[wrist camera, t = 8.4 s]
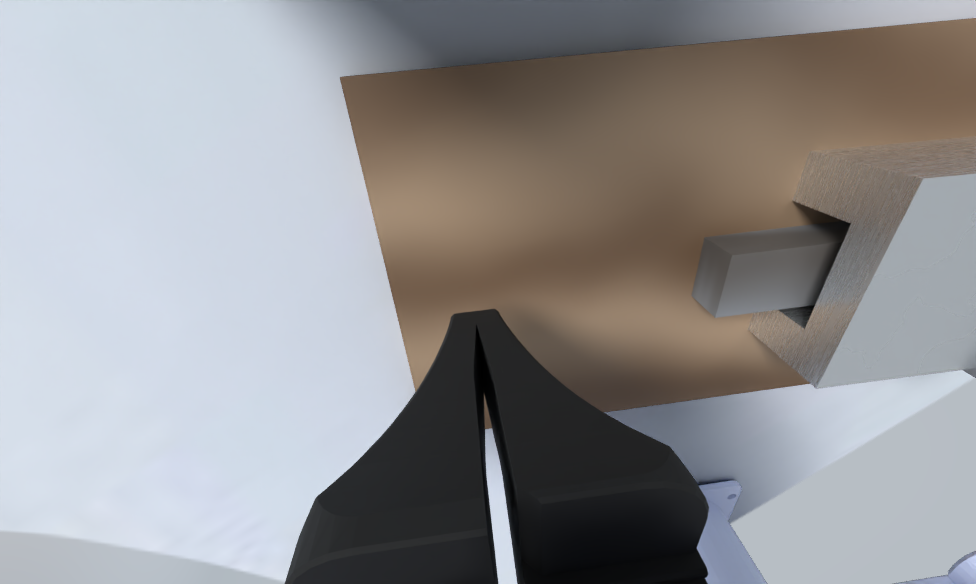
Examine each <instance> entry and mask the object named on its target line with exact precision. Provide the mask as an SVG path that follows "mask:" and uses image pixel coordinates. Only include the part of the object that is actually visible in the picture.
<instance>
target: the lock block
mask: <svg viewBox="0 0 976 584" xmlns="http://www.w3.org/2000/svg"><path fill="white" fill-rule="evenodd" d="M792 201H795V202H797V203H800V204H802V205H805V206H807V207H810V208H813V209H815V210H818V211H820V212H823V213H825V214H828V215H830V216H833V217H836V218H838V219H841V220H843V221H846V222H848V223H851V225H850V227H849V229H848V232H847V234H846V236H845V239H844V241H843V243H842V245H841V248H840V250H839V252H838V254H837V257H836V259H835V261H834V263H833V266H832V268H831V270H830V273H829V275H828V277H827V279H826V282H825V284H824V286H823V288H822V291H821V293H820V295H819V298H818V300H817V302H816V304H815V305H811V306H803V307H795V308H788V309H780V310H772V311H765V312H757V313H753V315H752V318H751V321H750V324H749V327H748V330H749V331H750V332H752V333H753V334H754V335H755V336H756V337H757V338H758V339H760V340H761V341H762V342H763V343H764V344H765V345H767V346H768V347H769V348H770V349H771V350H772V351H773V352H775V353H776V354H777V355H778V356H779V357H780V358H782V359H783V360H784V361H785V362H786V363H787V364H788V365H790V366H791V367H792V368H793V369H794V370H795V371H797V372H798V373H799V374H800V375H801V376H802V377H803V378H805V379H806V380H807V381H808V382H809V383H810V384H812V385H813V386H814V387H815V388H816V389H817V388H825V387H833V386H841V385H849V384H856V383H864V382H872V381H880V380H887V379H895V378H903V377H911V376H918V375H926V374H934V373H942V372H949V371H957V370H965V369H973V368H976V136H974V137H963V138H952V139H941V140H930V141H919V142H908V143H897V144H886V145H875V146H864V147H853V148H842V149H831V150H820V151H809V154H808V157H807V160H806V163H805V166H804V168H803V171H802V174H801V177H800V180H799V183H798V186H797V189H796V191H795V194H794V197H793V200H792Z"/></svg>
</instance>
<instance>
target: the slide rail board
mask: <svg viewBox="0 0 976 584" xmlns="http://www.w3.org/2000/svg"><path fill="white" fill-rule="evenodd" d="M340 80H341V85H342V89H343V93H344V97H345V101H346V105H347V109H348V114H349V118H350V122H351V126H352V130H353V134H354V138H355V143H356V147H357V151H358V155H359V159H360V163H361V167H362V172H363V176H364V180H365V184H366V188H367V192H368V196H369V201H370V205H371V209H372V213H373V217H374V221H375V225H376V230H377V234H378V238H379V242H380V246H381V250H382V254H383V259H384V263H385V267H386V271H387V275H388V279H389V284H390V288H391V292H392V296H393V300H394V304H395V308H396V313H397V317H398V321H399V325H400V329H401V333H402V337H403V342H404V346H405V350H406V354H407V358H408V362H409V366H410V371H411V375H412V379H413V383H414V387H415V391H417V389H418V388H419V386H420V384H421V383H422V381H423V380H424V378H425V376H426V374H427V372H428V371H429V369H430V367H431V365H432V363H433V362H434V360H435V358H436V356H437V353H438V351H439V349H440V347H441V345H442V342H443V340H444V338H445V335H446V332H447V330H448V326H449V323H450V319H451V316H452V315H453V314H455V313H463V312H471V311H480V310H488V309H496V310H497V311H499V313H500V315H501V317H502V318H503V320H504V322H505V323H506V324H507V326H508V327H509V329H510V330H511V331H512V333H513V334H514V335H515V336H516V338H517V339H518V340H519V341H520V342H521V344H522V345H523V346H524V347H525V348H526V349H527V350H528V352H529V353H530V354H531V355H532V356H533V357H534V358H535V359H536V360H537V361H538V362H539V363H540V364H541V365H542V366H543V367H544V368H545V369H546V370H547V371H548V372H549V373H551V374H552V375H553V376H554V377H555V378H556V379H558V380H559V381H560V382H561V383H562V384H564V385H565V386H566V387H567V388H569V389H570V390H571V391H573V392H574V393H575V394H576V395H578V396H579V397H581V398H582V399H584V400H585V401H587V402H588V403H590V404H591V405H593V406H594V407H596V408H597V409H599V410H600V411H602V412H610V411H618V410H625V409H632V408H639V407H646V406H653V405H660V404H668V403H675V402H682V401H689V400H696V399H703V398H710V397H718V396H725V395H732V394H739V393H746V392H753V391H760V390H768V389H775V388H782V387H789V386H796V385H803V384H810V383H809V382H808V381H807V380H806V379H805V378H803V377H802V376H801V375H800V374H799V373H798V372H797V371H795V370H794V369H793V368H792V367H791V366H790V365H788V364H787V363H786V362H785V361H784V360H783V359H782V358H780V357H779V356H778V355H777V354H776V353H775V352H773V351H772V350H771V349H770V348H769V347H768V346H767V345H765V344H764V343H763V342H762V341H761V340H760V339H758V338H757V337H756V336H755V335H754V334H753V333H752V332H750V331H749V330H748V327H749V324H750V321H751V318H752V315H753V313H757V312H765V311H772V310H780V309H788V308H795V307H803V306H811V305H815V304H816V302H817V300H818V298H819V295H820V293H821V291H822V288H823V286H824V284H825V282H826V279H827V277H828V275H829V273H830V270H831V268H832V266H833V263H834V261H835V259H836V257H837V254H838V252H839V250H840V248H841V245H842V243H843V241H844V239H845V236H846V234H847V232H848V229H849V227H850V225H851V223H848V222H846V221H843V220H841V219H838V218H836V217H833V216H830V215H828V214H825V213H823V212H820V211H818V210H815V209H813V208H810V207H807V206H805V205H802V204H800V203H797V202H795V201H792V200H793V197H794V194H795V191H796V189H797V186H798V183H799V180H800V177H801V174H802V171H803V168H804V166H805V163H806V160H807V157H808V154H809V151H820V150H831V149H842V148H853V147H864V146H875V145H886V144H897V143H908V142H919V141H930V140H941V139H952V138H963V137H974V136H976V18H971V19H960V20H949V21H938V22H928V23H917V24H906V25H895V26H884V27H874V28H863V29H852V30H841V31H830V32H820V33H809V34H798V35H787V36H776V37H766V38H755V39H744V40H733V41H722V42H712V43H701V44H690V45H679V46H668V47H658V48H647V49H636V50H625V51H614V52H603V53H593V54H582V55H571V56H560V57H549V58H539V59H528V60H517V61H506V62H495V63H485V64H474V65H463V66H452V67H441V68H431V69H420V70H409V71H398V72H387V73H377V74H366V75H355V76H345V77H340ZM963 371H965V372H967V373H968V374H970V375H972V376H973V377H975V378H976V368H973V369H965V370H963ZM484 412H485V429H489V428H492V425H491V421H490V417H489V412H488V408H487V404H486V400H485V395H484Z"/></svg>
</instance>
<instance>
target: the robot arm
mask: <svg viewBox="0 0 976 584" xmlns="http://www.w3.org/2000/svg"><path fill="white" fill-rule="evenodd" d="M484 395H485V400H486V404H487V408H488V412H489V417H490V421H491V425H492V429H493V434H494V438H495V442H496V446H497V451H498V455H499V459H500V464H501V470H502V475H503V482H504V489H505V496H506V503H507V510H508V518H509V525H510V532H511V539H512V547H513V554H514V561H515V568H516V576H517V583H518V584H767V582H766V581H765V579H764V578H763V576H762V574H761V573H760V571H759V570H758V568H757V566H756V565H755V563H754V562H753V560H752V558H751V557H750V555H749V554H748V552H747V551H746V549H745V547H744V546H743V544H742V542H741V541H740V539H739V538H738V536H737V535H736V533H735V531H734V530H733V528H732V527H731V525H730V523H729V522H728V520H729V518H730V516H731V513H732V511H733V509H734V506H735V504H736V502H737V499H738V497H739V495H740V493H741V490H742V487H741V486H740V484H739V483H738V482H737V481H734V480H733V481H725V482H719V483H712V484H705V485H699V486H698V484H697V483H696V481H695V479H694V478H693V476H692V475H691V474H690V472H689V471H688V470H687V468H686V467H685V466H684V464H683V463H682V462H681V460H680V459H679V458H678V457H677V455H676V454H675V453H674V451H673V450H672V449H671V448H670V447H669V446H667V445H665V444H663V443H661V442H659V441H657V440H655V439H653V438H650V437H648V436H646V435H644V434H642V433H640V432H638V431H636V430H634V429H632V428H630V427H628V426H626V425H624V424H622V423H621V422H619V421H617V420H615V419H614V418H612V417H610V416H608V415H607V414H605V413H603V412H602V411H600V410H599V409H597V408H596V407H594V406H593V405H591V404H590V403H588V402H587V401H585V400H584V399H582V398H581V397H579V396H578V395H576V394H575V393H574V392H573V391H571V390H570V389H569V388H567V387H566V386H565V385H564V384H562V383H561V382H560V381H559V380H558V379H556V378H555V377H554V376H553V375H552V374H551V373H549V372H548V371H547V370H546V369H545V368H544V367H543V366H542V365H541V364H540V363H539V362H538V361H537V360H536V359H535V358H534V357H533V356H532V355H531V354H530V353H529V352H528V350H527V349H526V348H525V347H524V346H523V345H522V344H521V342H520V341H519V340H518V339H517V338H516V336H515V335H514V334H513V333H512V331H511V330H510V329H509V327H508V326H507V324H506V323H505V322H504V320H503V318H502V317H501V315H500V313H499V311H497V310H496V309H488V310H480V311H471V312H463V313H455V314H453V315H452V316H451V319H450V323H449V326H448V330H447V332H446V335H445V338H444V340H443V342H442V345H441V347H440V349H439V351H438V353H437V356H436V358H435V360H434V362H433V363H432V365H431V367H430V369H429V371H428V372H427V374H426V376H425V378H424V380H423V381H422V383H421V384H420V386H419V388H418V389H417V391H416V392H415V394H414V395H413V397H412V398H411V399H410V401H409V402H408V404H407V405H406V407H405V408H404V409H403V410H402V412H401V413H400V414H399V415H398V417H397V418H396V419H395V421H394V422H393V423H392V424H391V426H390V427H389V428H388V429H387V430H386V431H385V433H384V434H383V435H382V436H381V437H380V438H379V439H378V440H377V441H376V442H375V443H374V444H373V445H372V446H371V447H370V449H369V450H368V451H367V452H366V453H365V454H364V455H363V456H362V457H361V458H360V459H359V460H358V461H357V462H356V463H355V464H354V465H353V466H352V467H351V468H350V469H349V470H347V471H346V472H345V473H344V474H343V475H342V476H341V477H339V478H338V479H337V480H336V481H335V482H334V483H333V484H331V485H330V486H329V487H328V488H327V489H326V490H325V491H323V492H322V493H321V494H320V495H318V496H317V497H316V499H315V501H314V503H313V505H312V508H311V510H310V512H309V515H308V517H307V519H306V521H305V524H304V526H303V529H302V531H301V533H300V536H299V539H298V542H297V545H296V548H295V552H294V555H293V558H292V562H291V565H290V568H289V572H288V575H287V578H286V581H285V584H498V577H497V568H496V559H495V550H494V541H493V532H492V523H491V514H490V505H489V496H488V487H487V478H486V462H485V412H484ZM894 584H976V551H974V552H972V553H970V554H967V555H965V556H964V557H962V558H961V559H959V560H958V561H957V562H956V563H955V564H954V565H953V566H952V567H951V568H950V570H949V572H948V575H943V576H937V577H931V578H925V579H919V580H912V581H906V582H900V583H894Z"/></svg>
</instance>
